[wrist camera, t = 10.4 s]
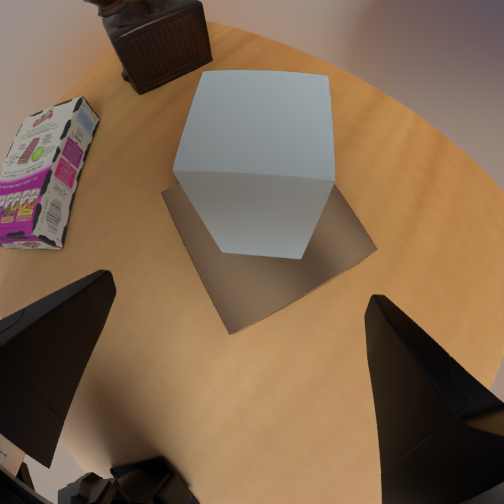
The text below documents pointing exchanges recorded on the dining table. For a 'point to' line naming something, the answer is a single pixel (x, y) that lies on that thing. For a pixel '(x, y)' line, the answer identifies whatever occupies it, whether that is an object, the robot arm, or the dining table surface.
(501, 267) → the dining table surface
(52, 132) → the candy bar box
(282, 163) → the grey-blue block
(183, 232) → the walnut block
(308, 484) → the dining table surface
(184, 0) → the manual coffee grinder
